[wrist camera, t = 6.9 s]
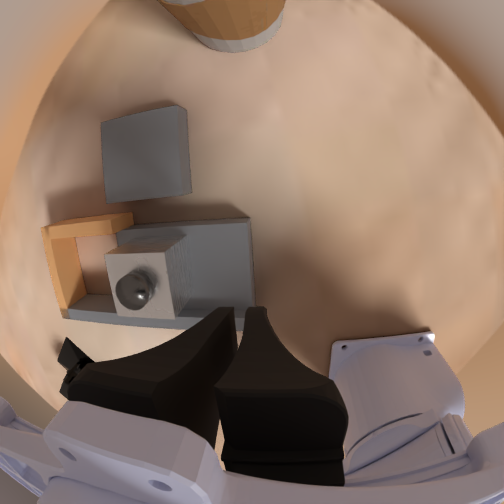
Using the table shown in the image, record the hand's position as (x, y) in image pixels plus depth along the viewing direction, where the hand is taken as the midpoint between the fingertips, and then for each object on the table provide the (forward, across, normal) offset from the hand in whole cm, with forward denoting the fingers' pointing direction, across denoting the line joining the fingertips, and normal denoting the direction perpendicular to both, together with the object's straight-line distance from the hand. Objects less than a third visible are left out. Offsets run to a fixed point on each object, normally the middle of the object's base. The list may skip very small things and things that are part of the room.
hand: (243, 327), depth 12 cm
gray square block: (+9, +8, -8) cm, 14 cm away
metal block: (+7, +6, 0) cm, 10 cm away
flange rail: (+9, +8, 0) cm, 13 cm away
